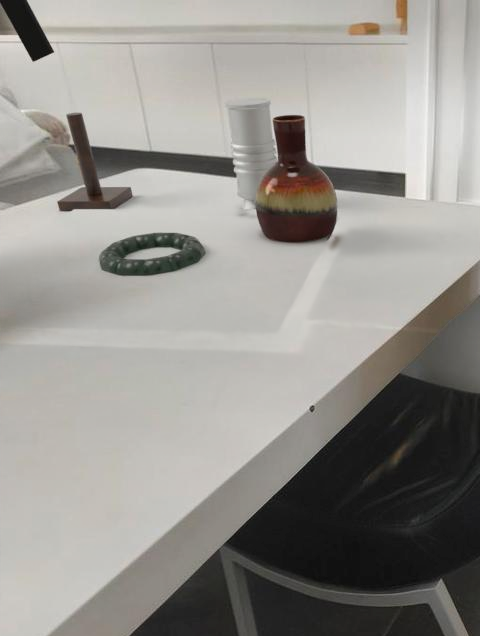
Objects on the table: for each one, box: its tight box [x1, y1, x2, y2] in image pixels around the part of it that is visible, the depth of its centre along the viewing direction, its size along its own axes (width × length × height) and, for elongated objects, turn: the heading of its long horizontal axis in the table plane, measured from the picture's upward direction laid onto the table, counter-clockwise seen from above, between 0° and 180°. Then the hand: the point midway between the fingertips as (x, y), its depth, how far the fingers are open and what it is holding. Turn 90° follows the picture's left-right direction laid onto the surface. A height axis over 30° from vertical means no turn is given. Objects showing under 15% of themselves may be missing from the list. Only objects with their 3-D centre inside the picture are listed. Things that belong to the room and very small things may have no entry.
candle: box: [224, 97, 278, 210], centre depth 106 cm, size 7×7×15 cm
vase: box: [255, 114, 338, 243], centre depth 91 cm, size 11×11×15 cm
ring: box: [98, 232, 207, 277], centre depth 88 cm, size 13×13×3 cm
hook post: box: [56, 112, 133, 212], centre depth 112 cm, size 9×9×14 cm
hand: (12, 68), depth 73 cm, fingers open, 13 cm apart
